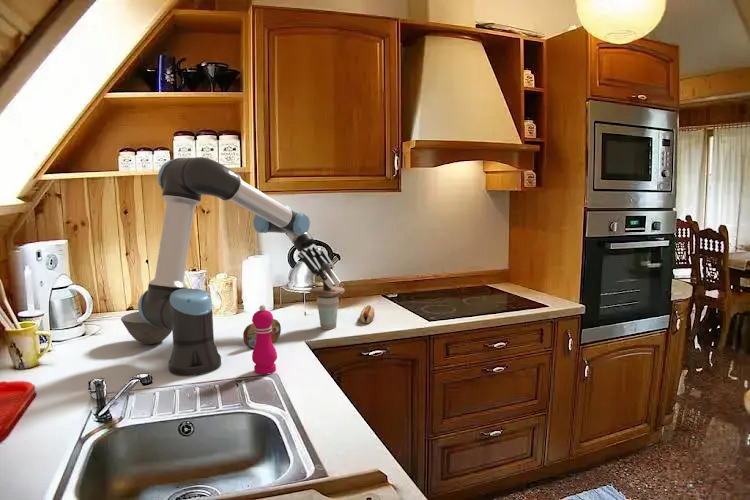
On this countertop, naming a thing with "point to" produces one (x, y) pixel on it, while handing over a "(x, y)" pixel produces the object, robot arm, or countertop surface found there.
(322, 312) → the coffee cup
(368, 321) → the food
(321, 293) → the walnut lid
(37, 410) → the countertop surface
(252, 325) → the tin
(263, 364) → the pepper mill
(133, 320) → the bowl
